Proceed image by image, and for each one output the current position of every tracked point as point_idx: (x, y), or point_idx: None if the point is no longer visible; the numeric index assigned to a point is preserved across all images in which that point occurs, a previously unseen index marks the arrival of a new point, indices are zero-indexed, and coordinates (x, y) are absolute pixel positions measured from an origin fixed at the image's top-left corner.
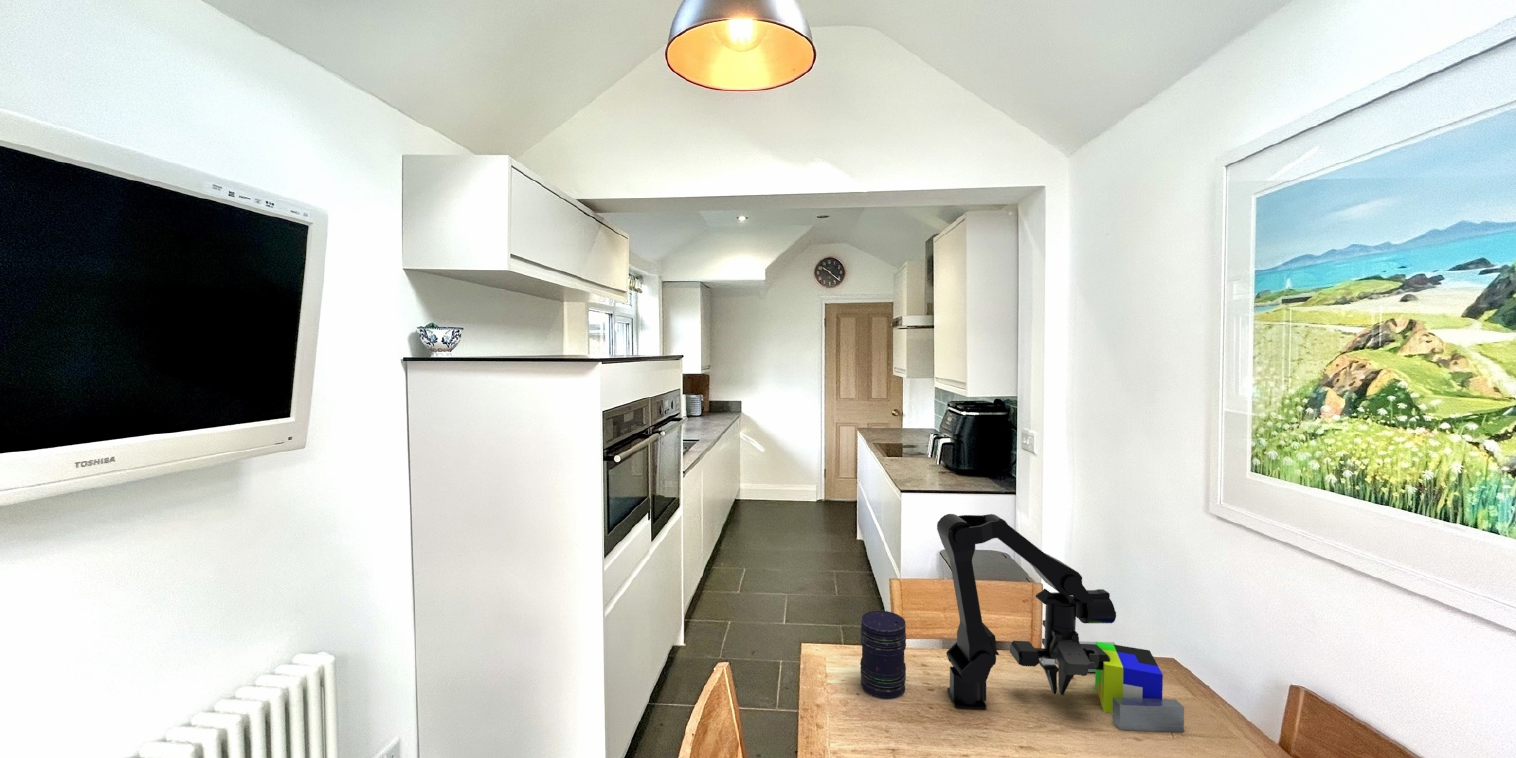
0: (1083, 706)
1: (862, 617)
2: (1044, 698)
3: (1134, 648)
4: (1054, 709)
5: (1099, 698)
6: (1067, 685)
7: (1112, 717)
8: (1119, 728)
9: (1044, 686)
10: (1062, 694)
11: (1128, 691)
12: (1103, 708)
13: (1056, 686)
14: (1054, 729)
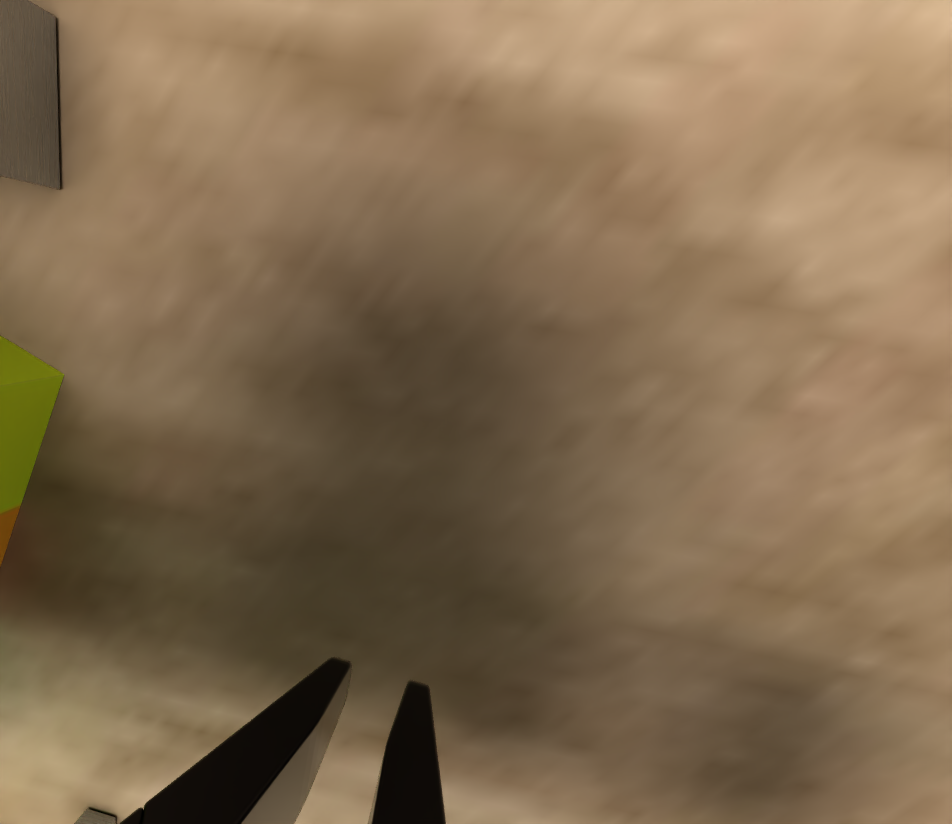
0: (220, 485)
1: None
2: (532, 673)
3: None
4: (564, 507)
5: (3, 551)
6: (220, 754)
7: (3, 176)
8: (38, 12)
9: None
10: (341, 661)
11: None
12: (32, 384)
13: (388, 779)
14: (896, 154)
